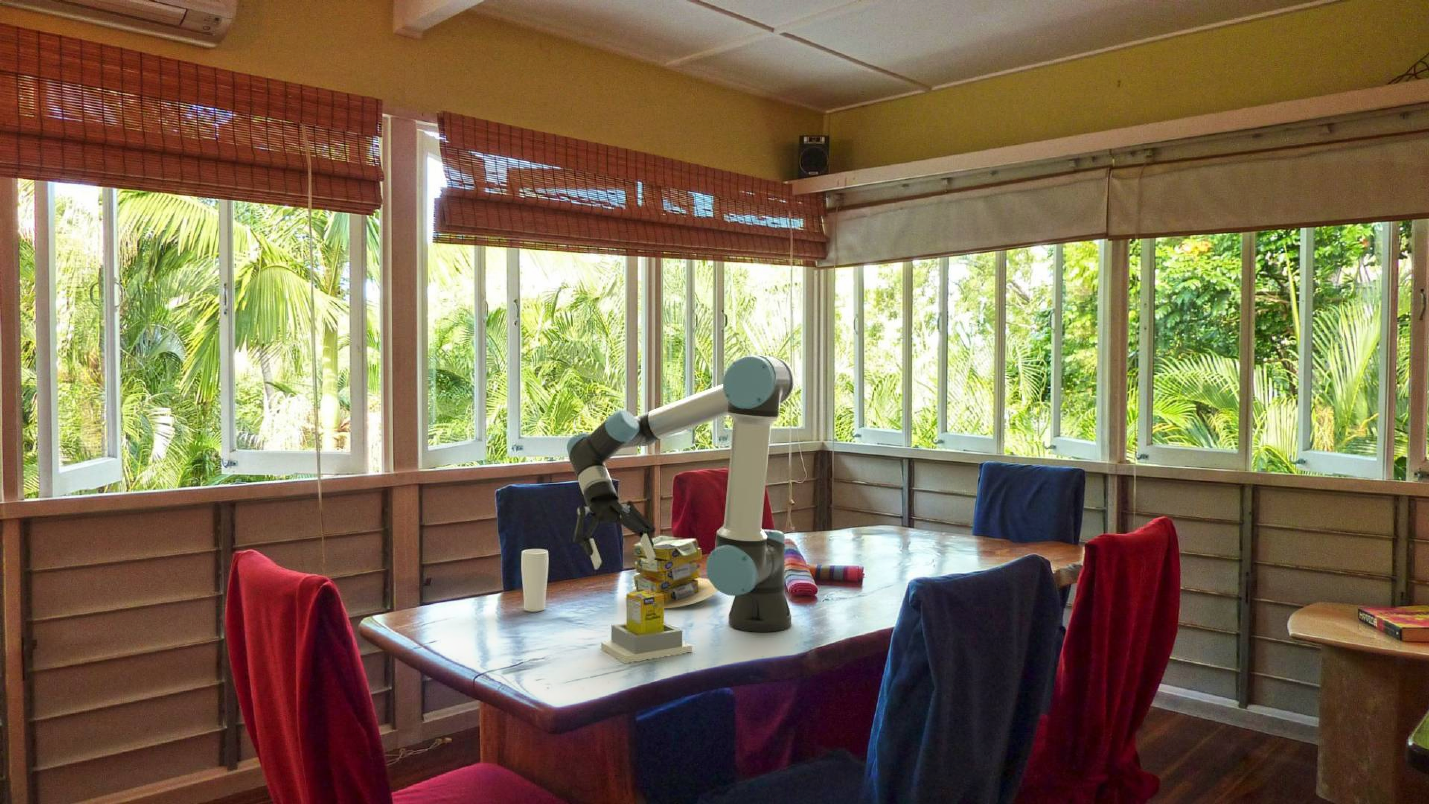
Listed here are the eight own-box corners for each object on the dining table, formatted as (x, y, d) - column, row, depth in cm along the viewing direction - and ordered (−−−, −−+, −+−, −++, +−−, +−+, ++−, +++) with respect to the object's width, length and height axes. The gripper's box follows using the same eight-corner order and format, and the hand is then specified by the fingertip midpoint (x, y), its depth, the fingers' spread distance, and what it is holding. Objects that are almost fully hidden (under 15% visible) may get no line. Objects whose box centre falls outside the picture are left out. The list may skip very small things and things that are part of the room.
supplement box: (664, 644, 207) (664, 594, 207) (642, 649, 203) (642, 598, 203) (647, 638, 212) (647, 589, 212) (625, 643, 208) (626, 593, 208)
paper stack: (651, 615, 239) (651, 548, 238) (611, 594, 260) (611, 533, 260) (735, 604, 251) (736, 540, 251) (690, 585, 273) (691, 527, 272)
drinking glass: (553, 609, 243) (553, 551, 242) (531, 614, 238) (531, 554, 237) (537, 605, 247) (537, 547, 247) (515, 609, 242) (515, 551, 242)
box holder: (665, 638, 217) (665, 617, 217) (692, 652, 207) (692, 629, 207) (601, 649, 209) (601, 626, 208) (625, 663, 198) (625, 639, 198)
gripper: (639, 496, 237) (668, 566, 225) (544, 502, 224) (569, 578, 212) (649, 477, 232) (679, 548, 220) (553, 482, 219) (579, 558, 207)
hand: (625, 562), depth 216 cm, fingers open, 13 cm apart
